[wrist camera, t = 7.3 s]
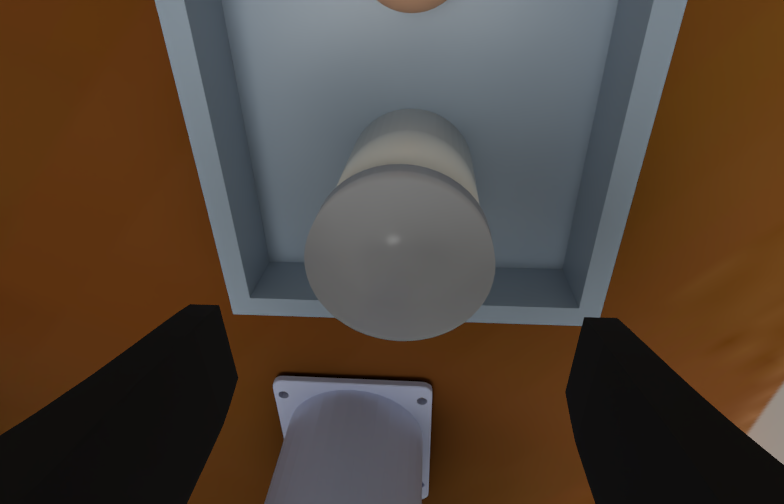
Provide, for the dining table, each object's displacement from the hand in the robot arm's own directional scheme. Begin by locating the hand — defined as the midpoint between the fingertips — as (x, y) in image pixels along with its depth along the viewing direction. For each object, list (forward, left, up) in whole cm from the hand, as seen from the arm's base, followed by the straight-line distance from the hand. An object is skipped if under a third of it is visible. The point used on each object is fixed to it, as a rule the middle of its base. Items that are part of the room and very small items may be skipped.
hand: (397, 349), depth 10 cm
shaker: (0, 0, -9) cm, 9 cm away
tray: (+3, 0, -10) cm, 10 cm away
